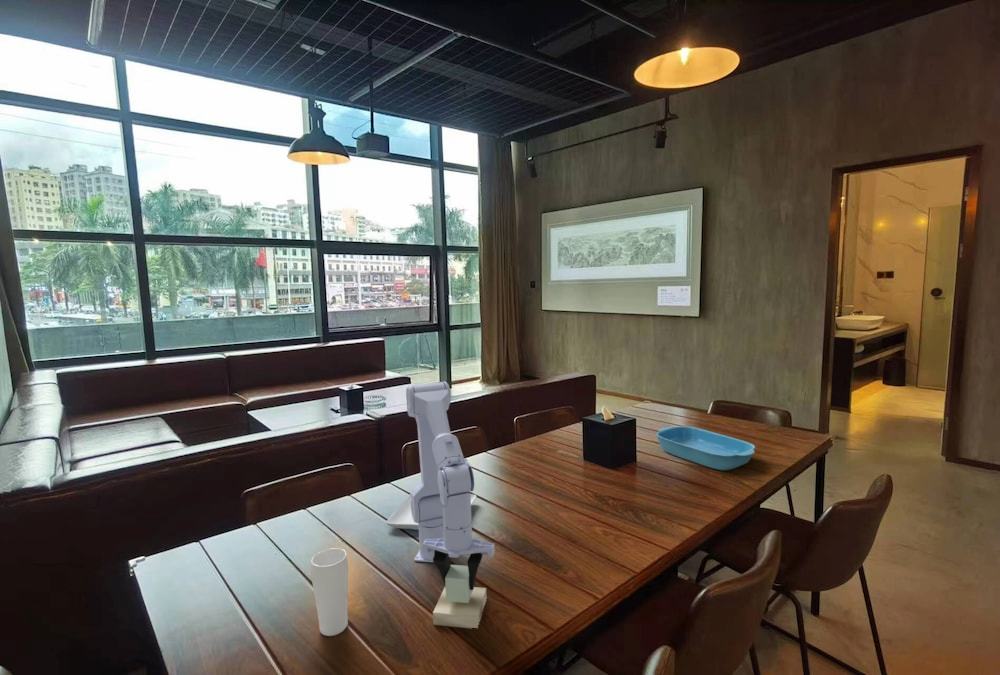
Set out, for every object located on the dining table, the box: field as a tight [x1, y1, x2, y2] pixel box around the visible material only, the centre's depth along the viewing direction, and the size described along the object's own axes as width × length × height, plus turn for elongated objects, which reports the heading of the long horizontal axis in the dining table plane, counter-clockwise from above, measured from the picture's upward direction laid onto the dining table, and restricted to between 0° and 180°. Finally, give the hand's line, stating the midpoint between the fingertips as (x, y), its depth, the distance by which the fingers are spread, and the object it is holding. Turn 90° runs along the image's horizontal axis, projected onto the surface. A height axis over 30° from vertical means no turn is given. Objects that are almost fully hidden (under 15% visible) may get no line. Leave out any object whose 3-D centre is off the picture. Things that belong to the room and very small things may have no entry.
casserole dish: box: [656, 425, 756, 471], centre depth 182 cm, size 37×22×7 cm, turn 32°
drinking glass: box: [310, 547, 349, 637], centre depth 94 cm, size 7×7×15 cm
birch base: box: [432, 586, 488, 630], centre depth 99 cm, size 9×9×3 cm
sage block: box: [444, 564, 473, 603], centre depth 98 cm, size 5×5×5 cm
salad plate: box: [385, 491, 477, 531], centre depth 140 cm, size 21×21×3 cm
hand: (460, 585), depth 98 cm, fingers closed on sage block, 4 cm apart
